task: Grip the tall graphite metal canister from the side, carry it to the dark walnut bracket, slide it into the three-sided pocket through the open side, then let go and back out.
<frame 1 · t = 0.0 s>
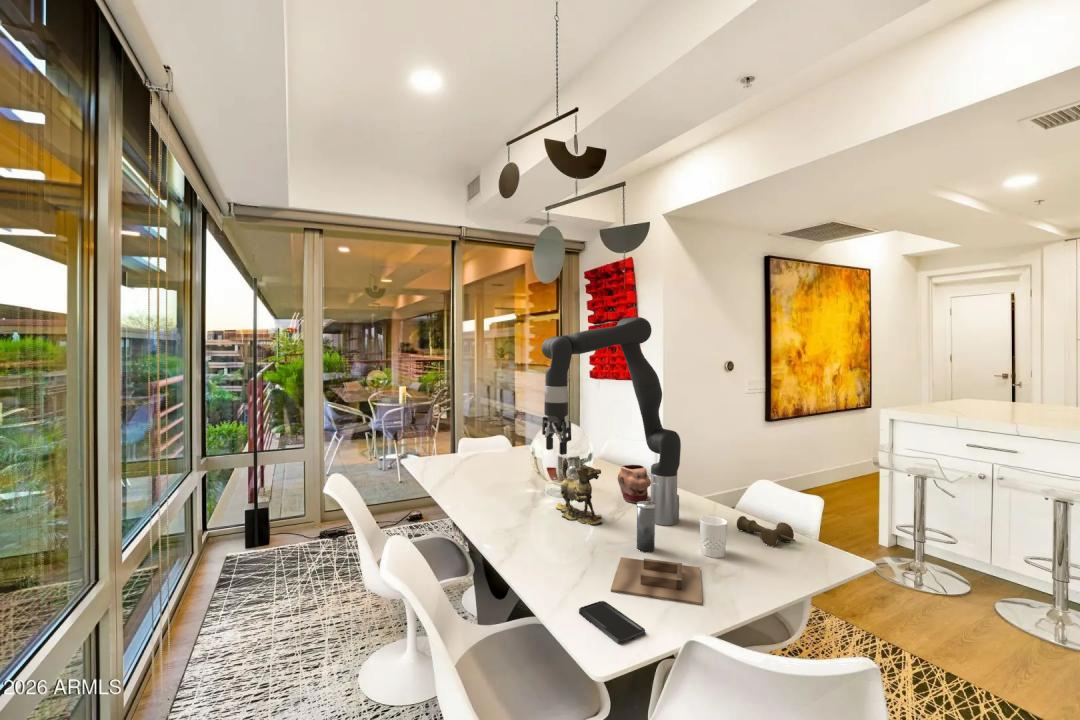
hand: (556, 451, 151), 29 cm above the table, tool pointing down, fingers open, 8 cm apart
graphite canister: (645, 548, 148), on the table
white cup: (713, 554, 145), on the table
decorative planter: (632, 499, 198), on the table
kendama: (766, 540, 156), on the table
figurine: (577, 515, 179), on the table
walnut bracket: (661, 580, 127), on the table
phone: (610, 625, 107), on the table
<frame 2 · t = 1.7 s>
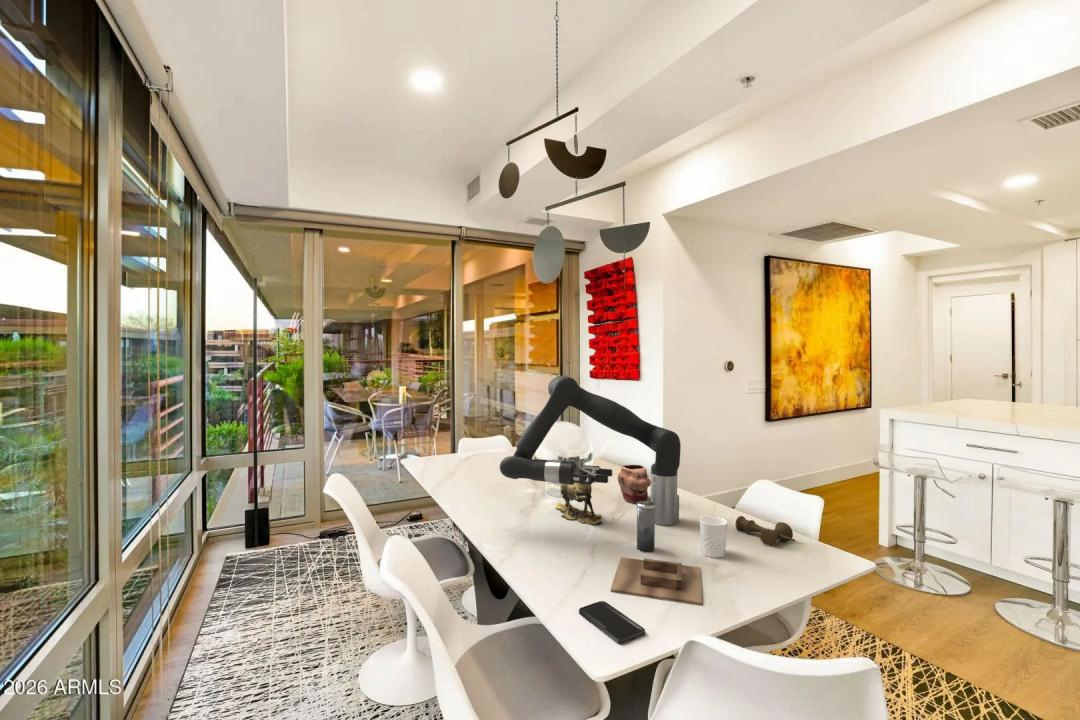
hand: (610, 476, 151), 22 cm above the table, tool horizontal, fingers open, 8 cm apart
nothing on the table moved.
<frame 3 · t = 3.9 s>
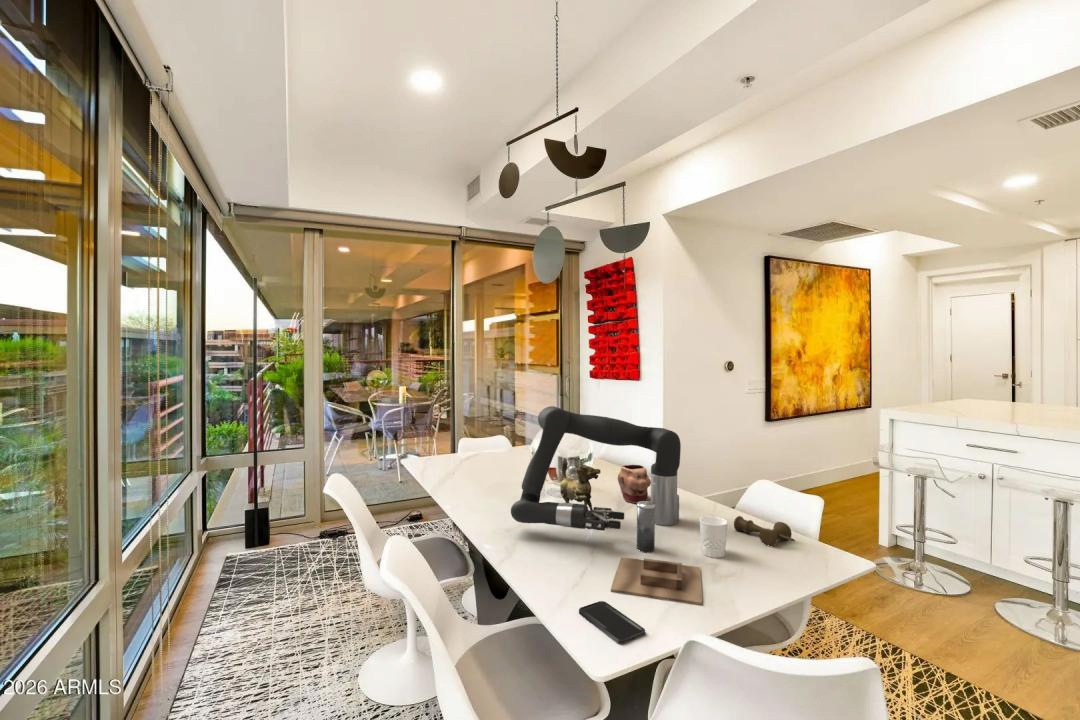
hand: (622, 520, 150), 8 cm above the table, tool horizontal, fingers open, 8 cm apart
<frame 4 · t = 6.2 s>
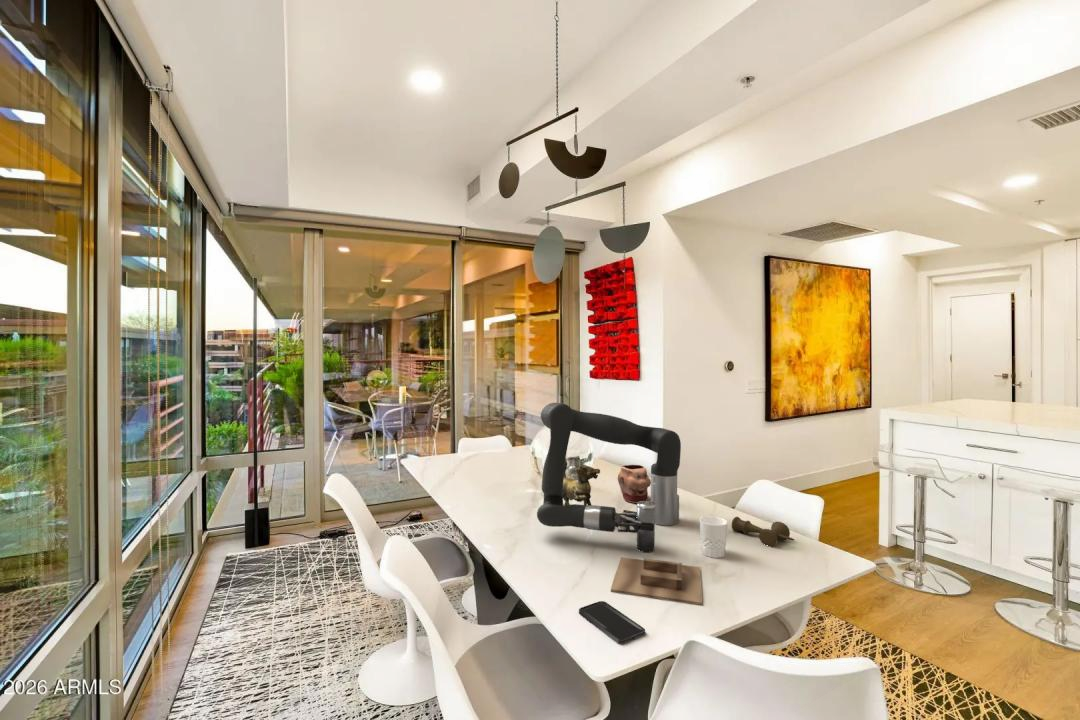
hand: (654, 523, 147), 8 cm above the table, tool horizontal, fingers closed on graphite canister, 5 cm apart
graphite canister: (645, 548, 148), on the table, touching gripper
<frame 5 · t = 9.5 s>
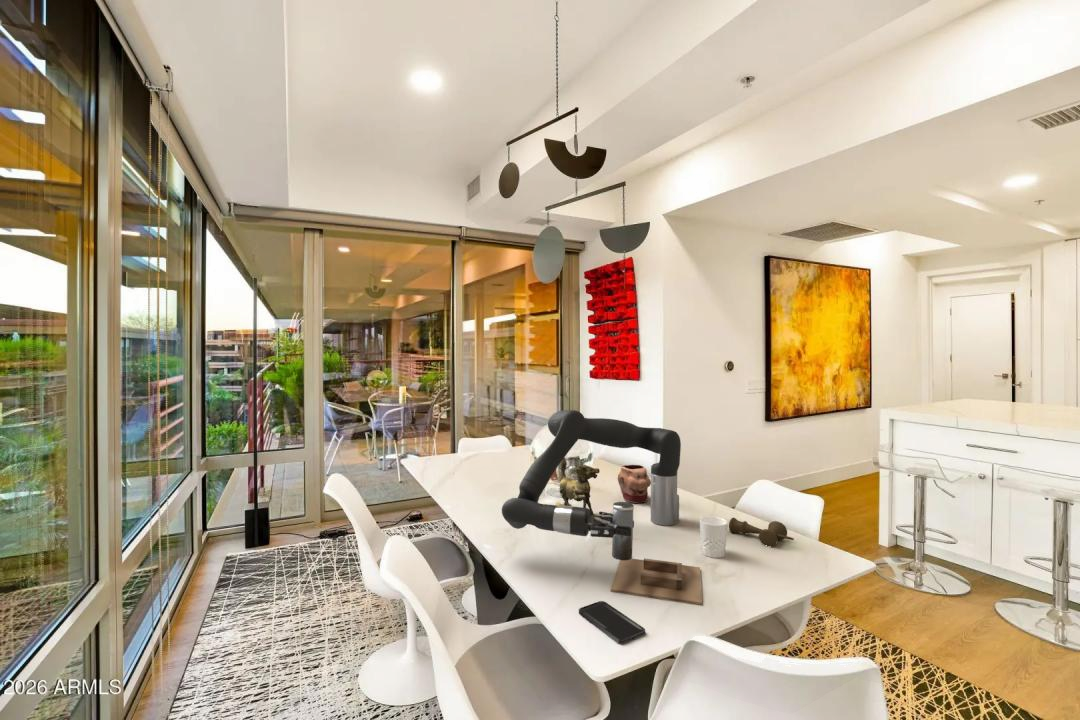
hand: (632, 527, 129), 13 cm above the table, tool horizontal, fingers closed on graphite canister, 5 cm apart
graphite canister: (622, 556, 130), point 5 cm above the table, touching gripper
when the fingers open (9 cm above the table, at t = 12.9 s): graphite canister stays where it is, resting on walnut bracket.
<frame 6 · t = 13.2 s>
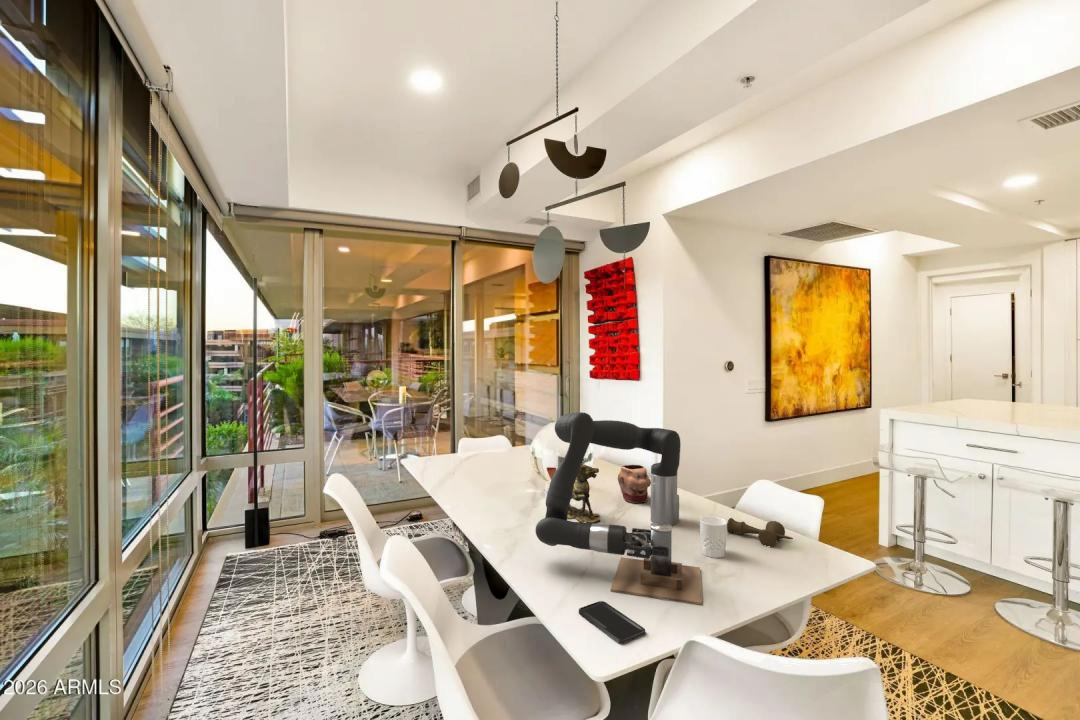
hand: (669, 545, 126), 9 cm above the table, tool horizontal, fingers open, 8 cm apart
graphite canister: (660, 578, 127), point 1 cm above the table, touching walnut bracket
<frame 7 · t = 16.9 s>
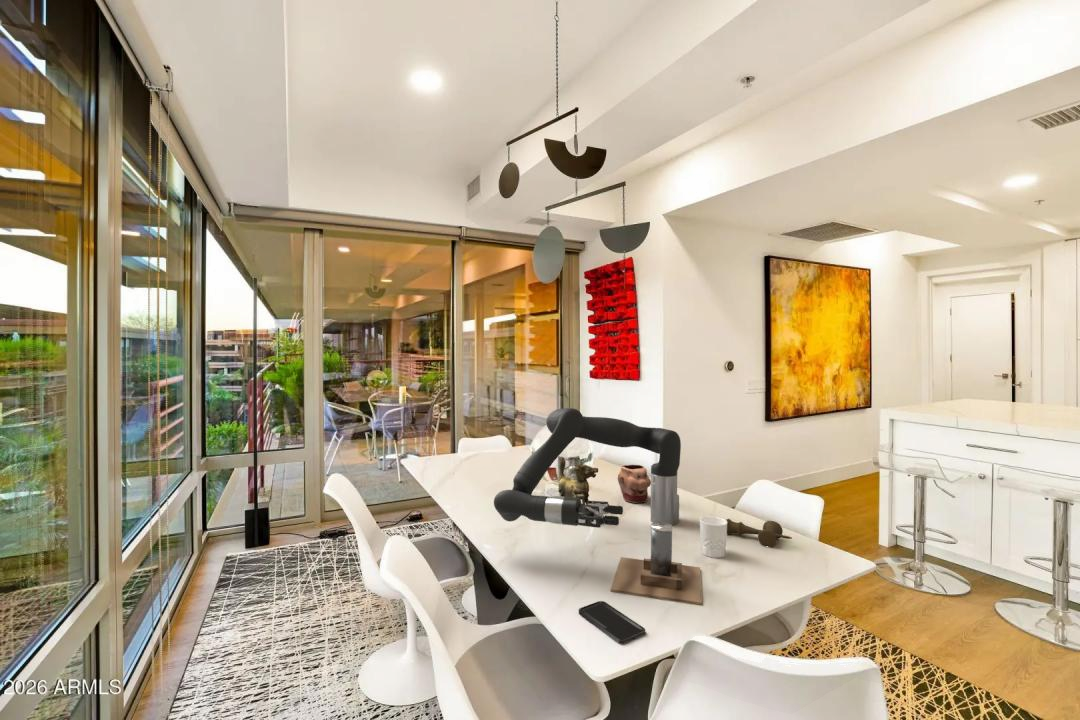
hand: (620, 515, 130), 16 cm above the table, tool horizontal, fingers open, 8 cm apart
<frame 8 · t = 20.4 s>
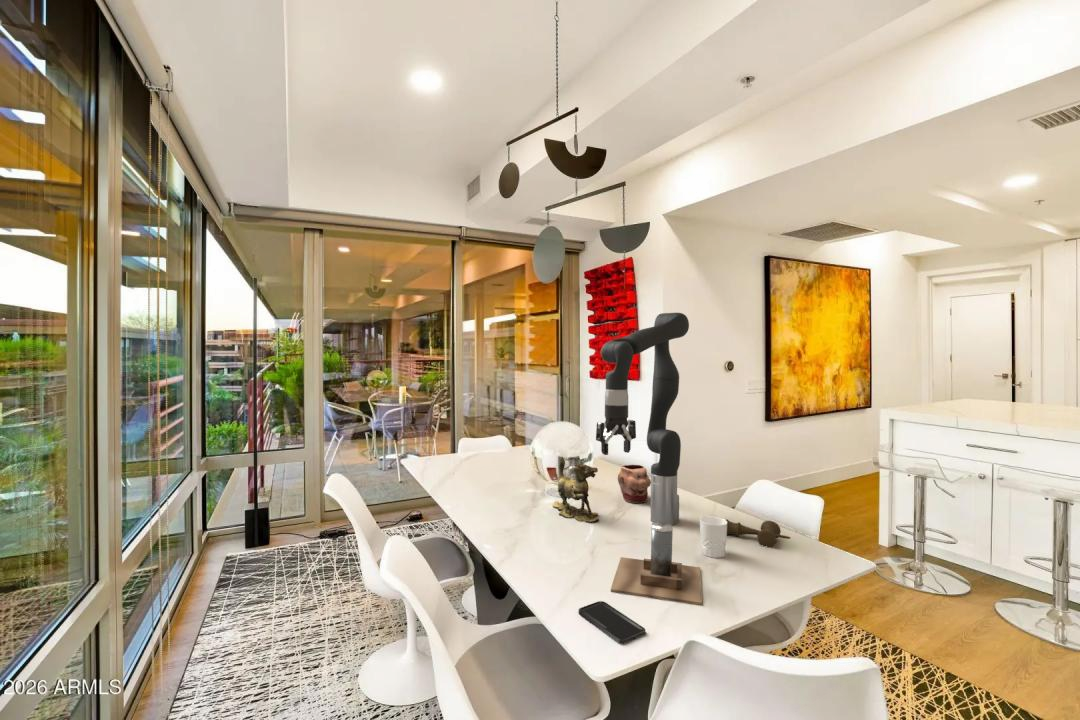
hand: (616, 453, 154), 28 cm above the table, tool pointing down, fingers open, 8 cm apart
at the end: graphite canister 0.2 cm from the walnut bracket (horizontally); graphite canister tilted 1°; the gripper is holding nothing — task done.
